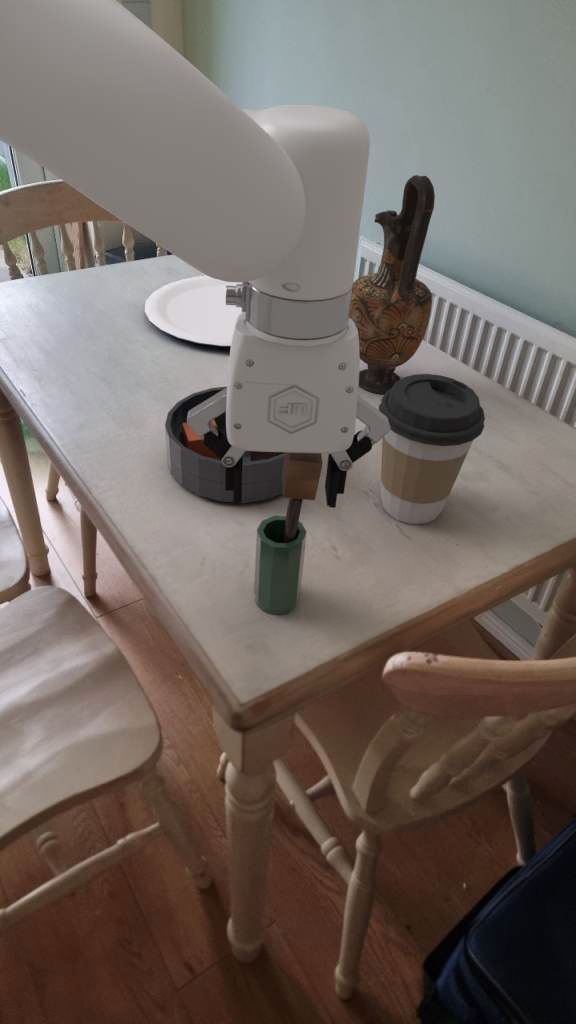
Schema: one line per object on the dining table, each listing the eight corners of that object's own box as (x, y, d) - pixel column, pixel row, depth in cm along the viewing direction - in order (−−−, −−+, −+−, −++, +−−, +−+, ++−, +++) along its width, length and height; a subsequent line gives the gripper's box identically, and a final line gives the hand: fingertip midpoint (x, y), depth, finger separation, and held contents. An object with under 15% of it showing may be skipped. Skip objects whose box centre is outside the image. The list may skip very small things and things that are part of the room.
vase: (400, 362, 110) (437, 156, 91) (429, 403, 101) (477, 182, 82) (329, 366, 108) (352, 155, 89) (352, 408, 99) (383, 182, 79)
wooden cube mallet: (264, 605, 68) (289, 460, 57) (264, 581, 70) (287, 438, 59) (292, 607, 68) (322, 463, 57) (291, 583, 70) (320, 441, 59)
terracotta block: (183, 449, 87) (182, 422, 85) (214, 445, 88) (214, 419, 86) (189, 468, 84) (188, 441, 82) (221, 463, 85) (221, 436, 83)
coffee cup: (478, 513, 82) (512, 403, 72) (412, 550, 76) (440, 436, 67) (409, 466, 88) (431, 359, 79) (343, 497, 83) (359, 386, 73)
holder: (248, 608, 68) (250, 540, 62) (263, 577, 72) (267, 510, 66) (290, 620, 67) (296, 553, 62) (304, 588, 71) (311, 521, 65)
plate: (184, 368, 104) (183, 358, 103) (121, 295, 124) (120, 286, 122) (346, 336, 116) (347, 326, 115) (266, 274, 135) (266, 265, 134)
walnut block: (250, 464, 86) (250, 437, 83) (271, 451, 88) (272, 425, 85) (274, 478, 84) (276, 451, 81) (295, 464, 86) (297, 437, 84)
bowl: (143, 485, 82) (139, 443, 78) (202, 414, 95) (201, 375, 91) (281, 521, 79) (284, 479, 75) (322, 442, 91) (326, 403, 88)
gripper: (170, 322, 46) (180, 521, 58) (426, 333, 48) (387, 527, 59) (180, 279, 52) (188, 468, 63) (408, 290, 53) (376, 474, 65)
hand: (284, 495), depth 61 cm, fingers open, 7 cm apart
